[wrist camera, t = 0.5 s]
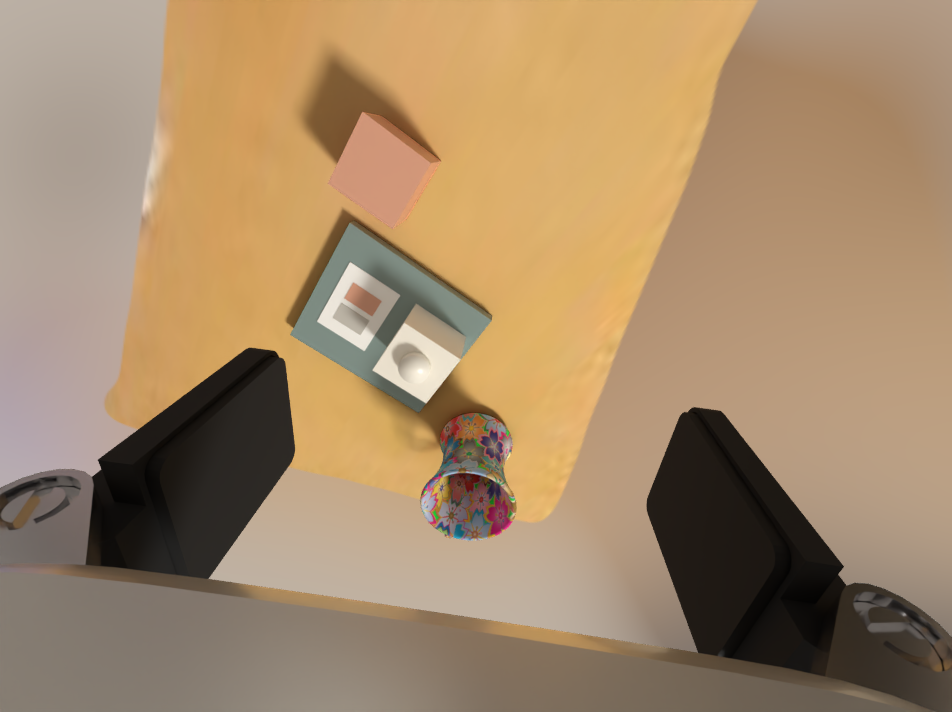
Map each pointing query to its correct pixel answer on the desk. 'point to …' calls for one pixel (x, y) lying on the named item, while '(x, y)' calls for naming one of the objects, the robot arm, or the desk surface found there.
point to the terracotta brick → (383, 169)
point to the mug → (471, 480)
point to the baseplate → (388, 319)
